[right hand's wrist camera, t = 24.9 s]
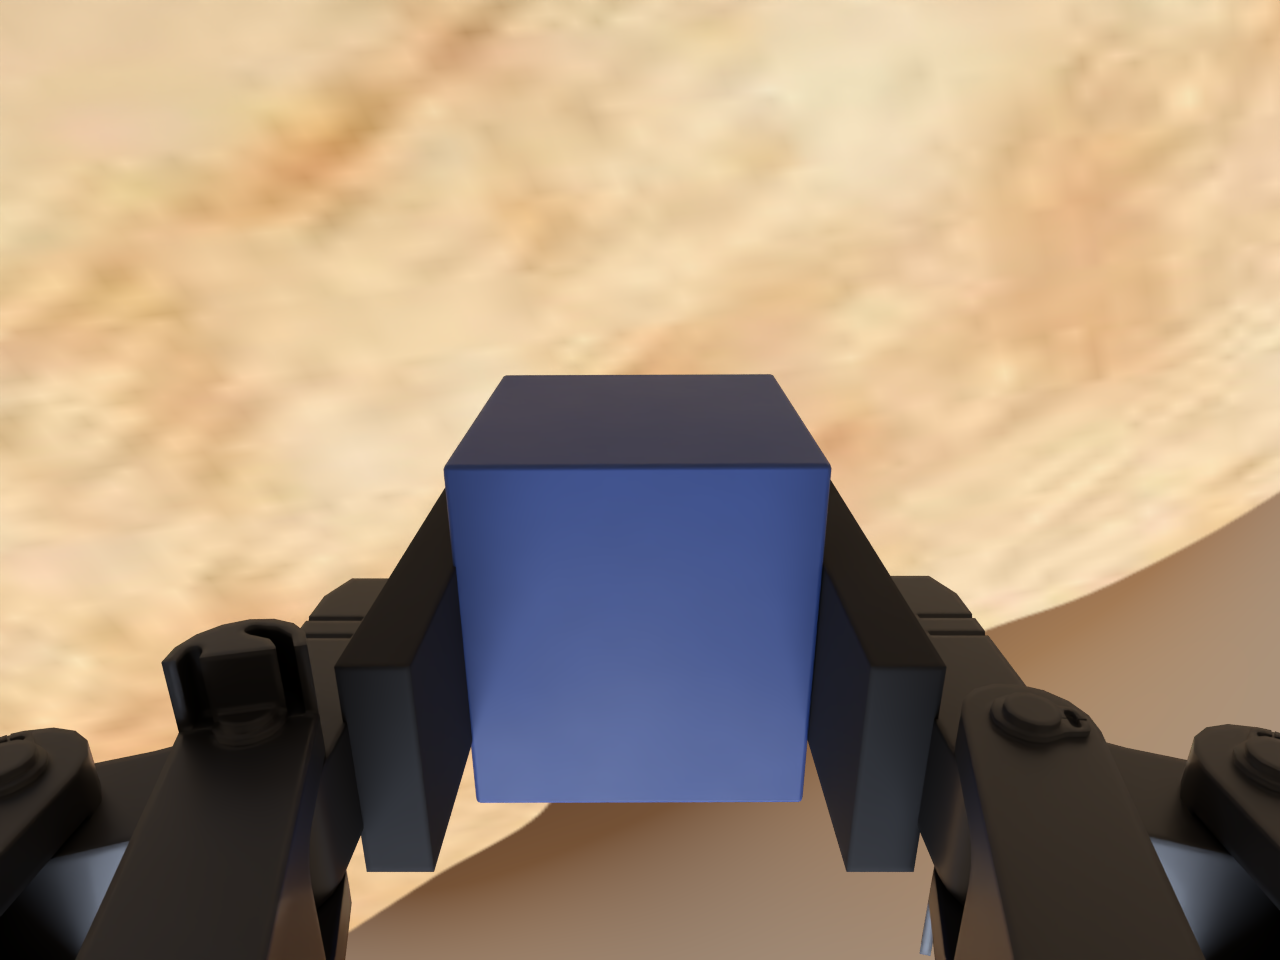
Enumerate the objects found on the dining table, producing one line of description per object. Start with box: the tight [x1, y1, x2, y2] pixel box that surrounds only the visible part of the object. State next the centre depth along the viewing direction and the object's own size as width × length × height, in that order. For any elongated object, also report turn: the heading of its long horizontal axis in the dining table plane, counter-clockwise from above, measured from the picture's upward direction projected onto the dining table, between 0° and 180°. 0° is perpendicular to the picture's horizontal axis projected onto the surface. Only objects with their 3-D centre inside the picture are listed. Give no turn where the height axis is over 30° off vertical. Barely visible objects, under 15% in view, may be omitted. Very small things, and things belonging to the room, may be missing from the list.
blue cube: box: [444, 374, 831, 803], centre depth 13 cm, size 5×5×5 cm
